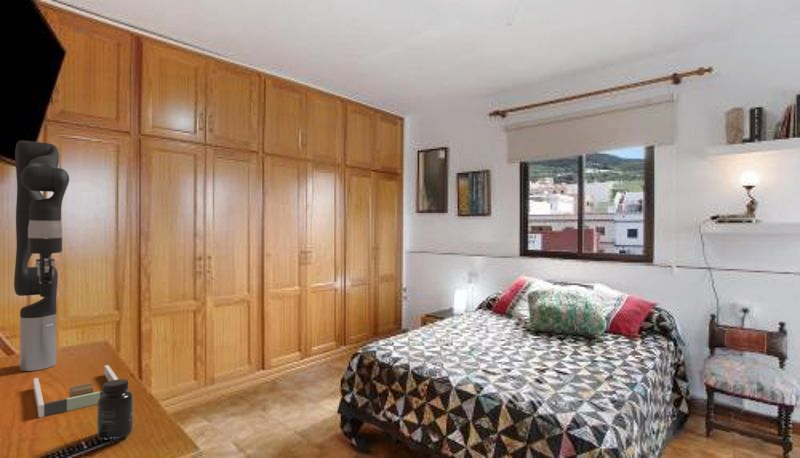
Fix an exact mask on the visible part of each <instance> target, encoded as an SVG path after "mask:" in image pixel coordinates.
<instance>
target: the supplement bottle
mask: <svg viewBox="0 0 800 458" xmlns="http://www.w3.org/2000/svg"><path fill="white" fill-rule="evenodd" d="M102 391H103V394H104V395H102V396H101V397H100V398H99V400H98V404H97V423H96V424H97V427H96V428H97V439H99V438H104V437H105V438H110V437H118V436H123V435H127V436H128V435H129V434H131V432H132V431H133V428H134V425H133V424H134V394H133V393H132V391H129V380H128V379H124V378H122V379H121V378H120V379H119V378H118V380H112V381H106V382H104V384H103V385H102Z"/></svg>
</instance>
